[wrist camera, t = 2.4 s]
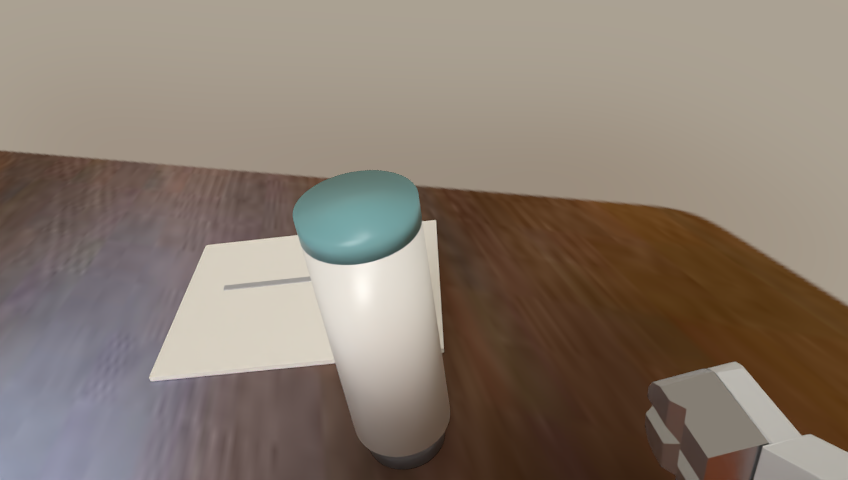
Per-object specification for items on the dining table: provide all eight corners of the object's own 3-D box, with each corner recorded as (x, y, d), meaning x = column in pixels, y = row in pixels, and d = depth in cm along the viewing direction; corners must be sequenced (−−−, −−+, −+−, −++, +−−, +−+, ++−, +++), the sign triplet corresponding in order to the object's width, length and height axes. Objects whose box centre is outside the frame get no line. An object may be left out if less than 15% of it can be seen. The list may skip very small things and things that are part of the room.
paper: (150, 381, 34) (148, 376, 34) (207, 248, 44) (205, 244, 44) (444, 352, 34) (443, 347, 33) (436, 223, 43) (435, 219, 43)
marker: (356, 481, 28) (283, 247, 20) (362, 402, 32) (301, 177, 24) (456, 472, 28) (419, 232, 20) (450, 393, 31) (417, 164, 24)
